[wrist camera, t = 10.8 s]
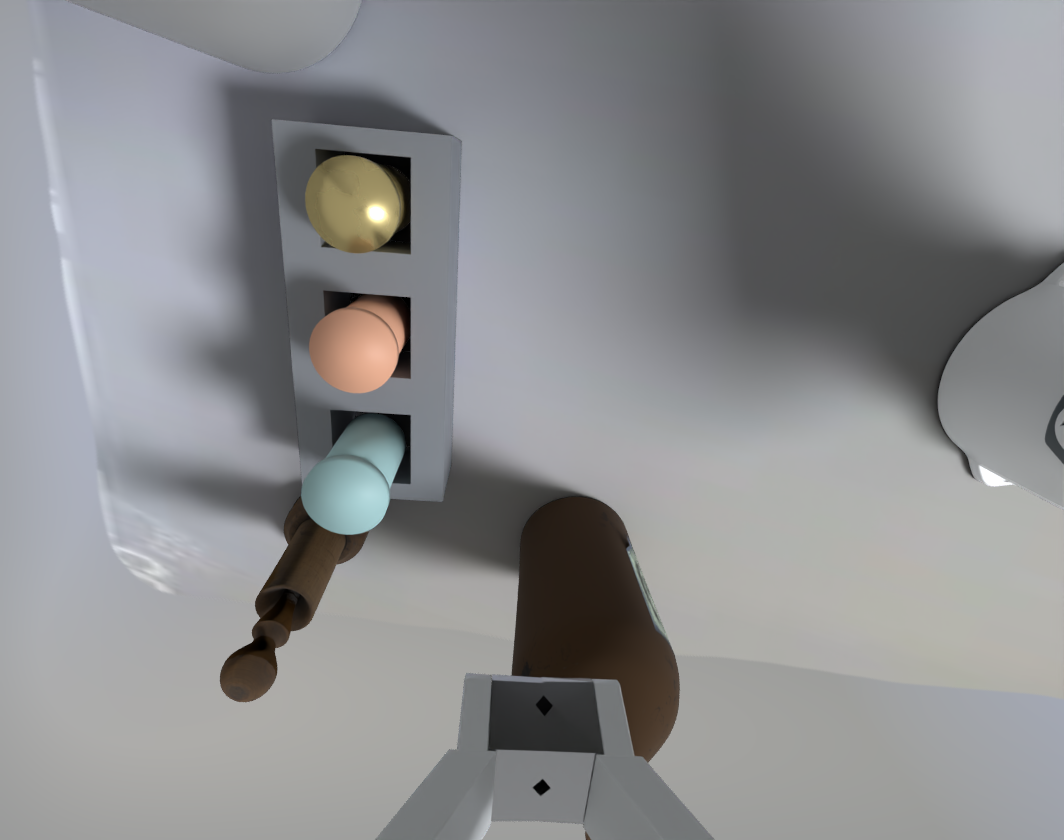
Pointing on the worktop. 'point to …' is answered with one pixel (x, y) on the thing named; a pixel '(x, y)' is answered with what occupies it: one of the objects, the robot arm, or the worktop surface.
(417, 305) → the grey plug holder block
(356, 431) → the plug
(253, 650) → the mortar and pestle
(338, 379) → the plug
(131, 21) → the cylinder vase
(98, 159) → the worktop surface
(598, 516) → the olive oil
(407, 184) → the plug
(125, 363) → the worktop surface
